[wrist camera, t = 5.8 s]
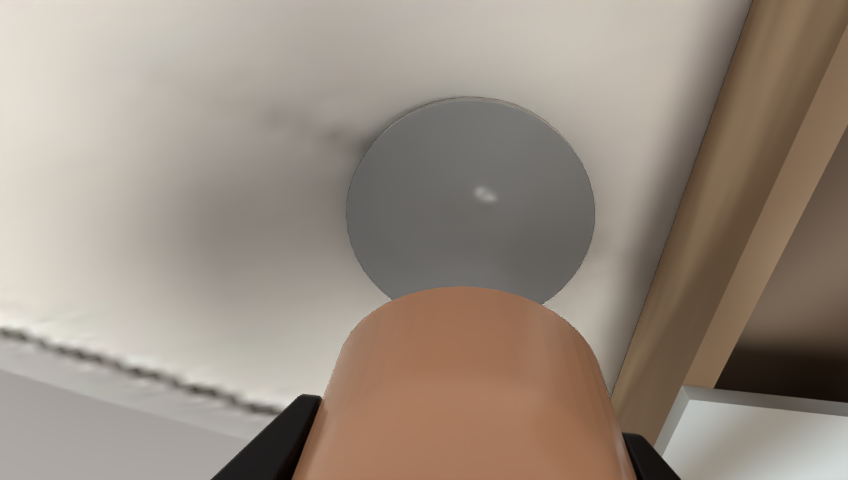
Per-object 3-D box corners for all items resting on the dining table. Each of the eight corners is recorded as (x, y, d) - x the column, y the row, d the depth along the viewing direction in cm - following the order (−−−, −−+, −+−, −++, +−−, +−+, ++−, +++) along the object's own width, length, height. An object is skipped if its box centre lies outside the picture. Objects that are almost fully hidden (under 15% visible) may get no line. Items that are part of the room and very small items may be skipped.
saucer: (617, 106, 14) (625, 112, 14) (562, 322, 19) (566, 335, 18) (347, 87, 15) (341, 92, 14) (354, 301, 19) (350, 313, 19)
